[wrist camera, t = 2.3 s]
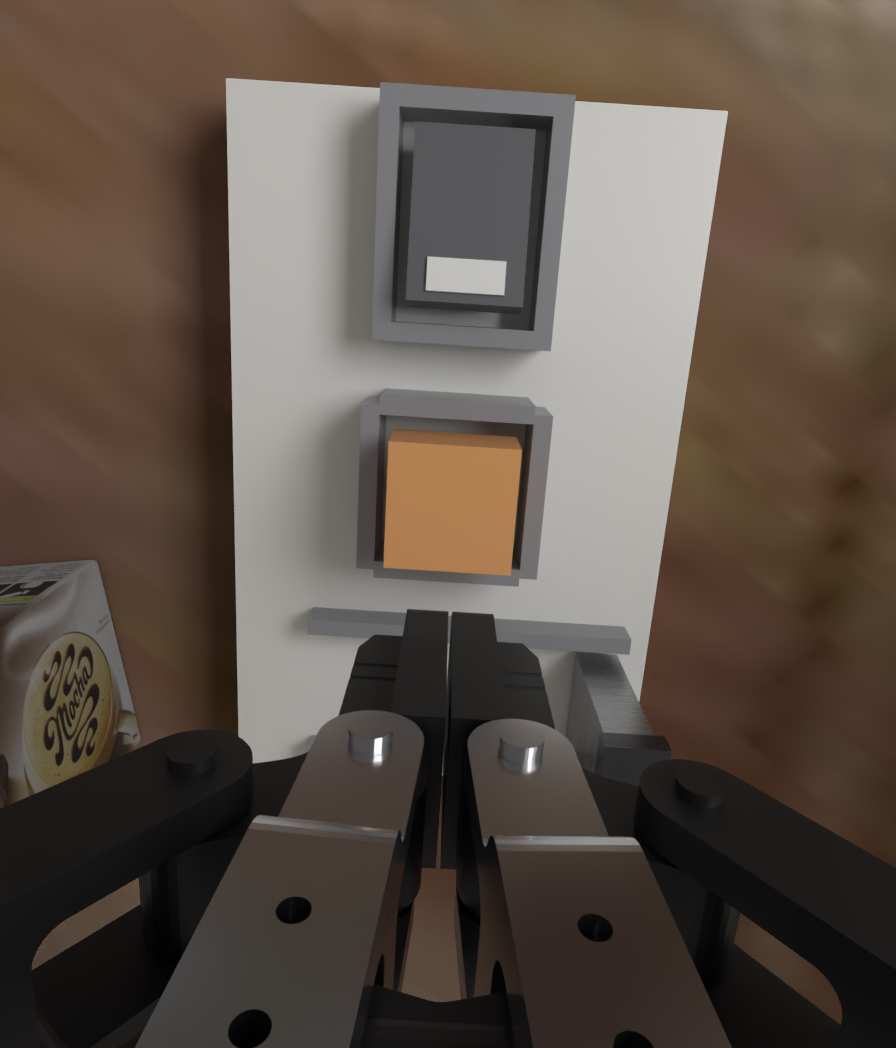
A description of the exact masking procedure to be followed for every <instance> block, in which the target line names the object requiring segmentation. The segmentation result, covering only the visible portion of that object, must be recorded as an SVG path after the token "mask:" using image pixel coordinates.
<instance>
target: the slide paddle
mask: <svg viewBox="0 0 896 1048" xmlns="http://www.w3.org/2000/svg"><path fill="white" fill-rule="evenodd" d="M565 737H566V738H567V739H568V740H569V741H570V743H571V744H572V746H573V748H574V750H575V753H576V755H577V758H578V760H579V763H580V765H581V767H583V768H584V769H586V770H588V771H590V772H592V773H595V774H597V775H600V776H602V777H606V778H609V779H612V780H616V781H620V782H623V783H627V784H631V785H635V786H639V781H640V776H641V774H642V772H643V771H644V770H645V769H646V768H647V767H648V766H650V765H651V764H654V763H656V762H659V761H664V760H670V758H671V752H672V751H671V749H670V747H669V745H668V742H667V740H666V738H665V736H654V734H653V732H652V729H651V727H650V725H649V723H648V721H647V719H646V717H645V714H644V712H643V710H642V708H641V706H640V704H639V701H638V699H637V697H636V695H635V693H634V691H633V688H632V686H631V684H630V682H629V680H628V678H627V675H626V673H625V671H624V669H623V667H622V665H621V663H620V660H619V658H618V656H617V655H615V654H599V653H583V652H576V653H575V661H574V670H573V678H572V686H571V694H570V703H569V711H568V719H567V728H566V736H565Z"/></svg>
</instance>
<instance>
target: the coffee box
mask: <svg viewBox="0 0 896 1048" xmlns="http://www.w3.org/2000/svg"><path fill="white" fill-rule="evenodd" d="M140 739H141V737H140V733H139V728H138V724H137V720H136V716H135V712H134V708H133V703H132V699H131V695H130V691H129V687H128V683H127V679H126V675H125V671H124V667H123V663H122V659H121V655H120V651H119V647H118V643H117V639H116V635H115V631H114V627H113V623H112V619H111V615H110V611H109V607H108V603H107V599H106V595H105V591H104V587H103V583H102V579H101V575H100V571H99V567H98V563H97V561H95V560H79V561H66V562H54V563H40V564H28V565H16V566H3V567H0V809H1V808H4V807H6V806H8V805H10V804H13V803H15V802H17V801H20V800H22V799H24V798H26V797H29V796H31V795H33V794H36V793H38V792H40V791H42V790H45V789H47V788H49V787H52V786H54V785H56V784H59V783H61V782H63V781H65V780H68V779H70V778H72V777H75V776H77V775H79V774H81V773H84V772H86V771H88V770H91V769H93V768H95V767H97V766H100V765H102V764H104V763H107V762H109V761H111V760H114V759H116V758H118V757H120V756H123V755H125V754H127V753H130V752H132V751H133V749H134V748H135V746H136V745H137V744H138V743H139V741H140Z"/></svg>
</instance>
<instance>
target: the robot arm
mask: <svg viewBox="0 0 896 1048" xmlns="http://www.w3.org/2000/svg"><path fill="white" fill-rule="evenodd" d="M447 650H448V611H434V610H418V609H407V613H406V619H405V625H404V631H403V636H392V635H373V636H372V637H371V638H369V639H368V640H367V641H366V642H364V643H363V644H362V645H360V646H359V647H358V650H357V654H356V657H355V661H354V666H353V667H352V671H351V674H350V679H349V681H348V685H347V688H346V692H345V695H344V698H343V702H342V705H341V709H340V712H339V716H337V717H335V718H333V719H331V720H330V721H328V722H327V723H325V724H324V725H323V726H322V727H321V728H320V730H319V731H318V733H317V735H316V737H315V740H314V742H313V744H312V746H311V748H310V750H309V752H307V753H304V754H302V755H299V756H295V757H291V758H287V759H281V760H275V761H268V762H261V763H254V764H253V756H252V751H251V748H250V746H249V745H248V744H247V743H246V742H245V741H244V740H243V739H241V738H240V737H238V736H236V735H233V734H230V733H227V732H222V731H216V730H194V731H186V732H181V733H177V734H173V735H170V736H167V737H164V738H162V739H159V740H157V741H155V742H152V743H150V744H148V745H146V746H143V747H141V748H139V749H136V750H134V751H132V752H130V753H127V754H125V755H123V756H120V757H118V758H116V759H114V760H111V761H109V762H107V763H104V764H102V765H100V766H97V767H95V768H93V769H91V770H88V771H86V772H84V773H81V774H79V775H77V776H75V777H72V778H70V779H68V780H65V781H63V782H61V783H59V784H56V785H54V786H52V787H49V788H47V789H45V790H42V791H40V792H38V793H36V794H33V795H31V796H29V797H26V798H24V799H22V800H20V801H17V802H15V803H13V804H10V805H8V806H6V807H4V808H1V809H0V1048H896V868H894V867H893V866H891V865H889V864H887V863H886V862H884V861H882V860H880V859H879V858H877V857H875V856H873V855H872V854H870V853H868V852H866V851H865V850H863V849H861V848H859V847H858V846H856V845H854V844H852V843H851V842H849V841H847V840H845V839H844V838H842V837H840V836H838V835H837V834H835V833H833V832H831V831H830V830H828V829H826V828H824V827H823V826H821V825H819V824H817V823H816V822H814V821H812V820H810V819H809V818H807V817H805V816H803V815H802V814H800V813H798V812H796V811H795V810H793V809H791V808H789V807H788V806H786V805H784V804H782V803H781V802H779V801H777V800H775V799H774V798H772V797H770V796H768V795H767V794H765V793H763V792H761V791H760V790H758V789H756V788H754V787H752V786H751V785H749V784H747V783H745V782H744V781H742V780H740V779H738V778H737V777H735V776H733V775H731V774H729V773H728V772H726V771H724V770H721V769H719V768H716V767H714V766H711V765H708V764H705V763H701V762H696V761H690V760H678V759H673V760H664V761H659V762H656V763H654V764H651V765H650V766H648V767H647V768H646V769H645V770H644V771H643V772H642V774H641V776H640V781H639V786H635V785H631V784H627V783H623V782H620V781H616V780H612V779H609V778H606V777H602V776H600V775H597V774H595V773H592V772H590V771H588V770H586V769H584V768H583V767H581V765H580V763H579V760H578V758H577V755H576V753H575V750H574V748H573V746H572V744H571V743H570V741H569V740H568V739H567V738H566V737H565V736H564V735H562V734H561V733H560V732H558V731H557V730H555V726H554V721H553V717H552V713H551V709H550V705H549V701H548V696H547V692H546V691H545V684H544V680H543V677H542V671H541V667H540V663H539V659H538V657H537V656H536V655H535V654H534V653H532V652H531V651H530V650H529V649H528V648H527V647H526V646H525V645H524V644H523V643H508V642H497V637H496V629H495V621H494V615H493V614H485V613H468V612H452V617H451V630H450V645H449V659H448V674H447ZM443 752H444V755H443ZM442 767H443V792H442V829H441V866H440V868H442V869H456V895H455V907H454V929H455V940H456V951H457V962H458V973H459V984H460V995H461V1000H456V1001H451V1002H433V1001H428V1000H425V999H421V998H418V997H415V996H412V995H408V994H405V993H402V992H401V991H402V984H403V978H404V972H405V966H406V960H407V954H408V948H409V942H410V936H411V930H412V924H413V916H414V900H415V897H416V896H417V894H418V891H419V889H420V884H421V870H422V868H436V854H437V839H438V825H439V810H440V796H441V781H442ZM138 877H139V887H140V902H141V904H140V905H139V906H137V907H135V908H134V909H132V910H131V911H129V912H127V913H126V914H124V915H122V916H121V917H119V918H117V919H116V920H114V921H112V922H111V923H109V924H108V925H106V926H104V927H103V928H101V929H99V930H98V931H96V932H94V933H93V934H91V935H89V936H88V937H86V938H85V939H83V940H81V941H80V942H78V943H76V944H75V945H73V946H71V947H70V948H68V949H67V950H65V951H63V952H62V953H60V954H58V955H57V956H55V957H53V958H52V959H50V960H48V961H47V962H45V963H44V964H42V965H40V966H39V967H37V968H35V969H34V970H32V971H31V967H32V961H33V958H34V956H35V953H36V951H37V949H38V947H39V946H40V944H41V943H42V941H43V940H44V939H45V937H46V936H47V935H48V934H49V933H50V932H51V931H52V930H53V929H54V928H55V927H56V926H58V925H59V924H60V923H61V922H63V921H64V920H66V919H67V918H69V917H71V916H72V915H74V914H76V913H78V912H79V911H81V910H83V909H85V908H86V907H88V906H90V905H92V904H93V903H95V902H97V901H98V900H100V899H102V898H104V897H105V896H107V895H109V894H111V893H112V892H114V891H116V890H117V889H119V888H121V887H123V886H124V885H126V884H128V883H130V882H131V881H133V880H135V879H137V878H138ZM740 913H742V914H743V915H744V916H746V917H747V918H749V919H750V920H751V921H753V922H754V923H756V924H757V925H758V926H760V927H761V928H762V929H764V930H765V931H767V932H768V933H769V934H771V935H772V936H774V937H775V938H776V939H778V940H779V941H781V942H782V943H783V944H785V945H786V946H787V947H789V948H790V949H792V950H793V951H794V952H796V953H797V954H799V955H800V956H801V957H803V958H804V959H805V960H807V961H808V962H810V963H811V964H812V965H814V966H815V967H816V968H817V969H818V970H819V971H820V972H821V973H822V974H823V975H824V976H825V977H826V978H827V979H828V981H829V982H830V983H831V985H832V986H833V988H834V989H835V991H836V993H837V995H838V998H839V1000H840V1003H841V1007H842V1015H843V1017H842V1023H841V1025H840V1024H838V1023H837V1022H836V1021H835V1020H833V1019H832V1018H831V1017H829V1016H828V1015H827V1014H825V1013H824V1012H823V1011H821V1010H820V1009H819V1008H817V1007H816V1006H815V1005H814V1004H812V1003H811V1002H810V1001H808V1000H807V999H806V998H804V997H803V996H802V995H800V994H799V993H798V992H796V991H795V990H794V989H793V988H791V987H790V986H789V985H787V984H786V983H785V982H783V981H782V980H781V979H779V978H778V977H777V976H775V975H774V974H773V973H772V972H770V971H769V970H768V969H766V968H765V967H764V966H762V965H761V964H760V963H758V962H757V961H756V960H754V959H753V958H752V957H751V956H749V955H748V954H747V953H745V952H744V951H743V950H741V949H740V948H739V947H737V946H736V945H735V944H734V939H735V934H736V930H737V925H738V920H739V915H740Z"/></svg>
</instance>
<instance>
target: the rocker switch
mask: <svg viewBox="0 0 896 1048" xmlns="http://www.w3.org/2000/svg"><path fill="white" fill-rule="evenodd" d="M535 133H536V129H525V128H510V127H494V126H479V125H464V124H449V123H434V122H418V121H416V122H415V140H414V158H413V176H412V193H411V211H410V229H409V247H408V265H407V283H406V303H407V306H408V307H415V308H430V309H446V310H461V311H477V312H492V313H507V314H520V312H521V310H522V308H523V298H524V284H525V271H526V257H527V243H528V229H529V215H530V202H531V188H532V174H533V160H534V147H535Z"/></svg>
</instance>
